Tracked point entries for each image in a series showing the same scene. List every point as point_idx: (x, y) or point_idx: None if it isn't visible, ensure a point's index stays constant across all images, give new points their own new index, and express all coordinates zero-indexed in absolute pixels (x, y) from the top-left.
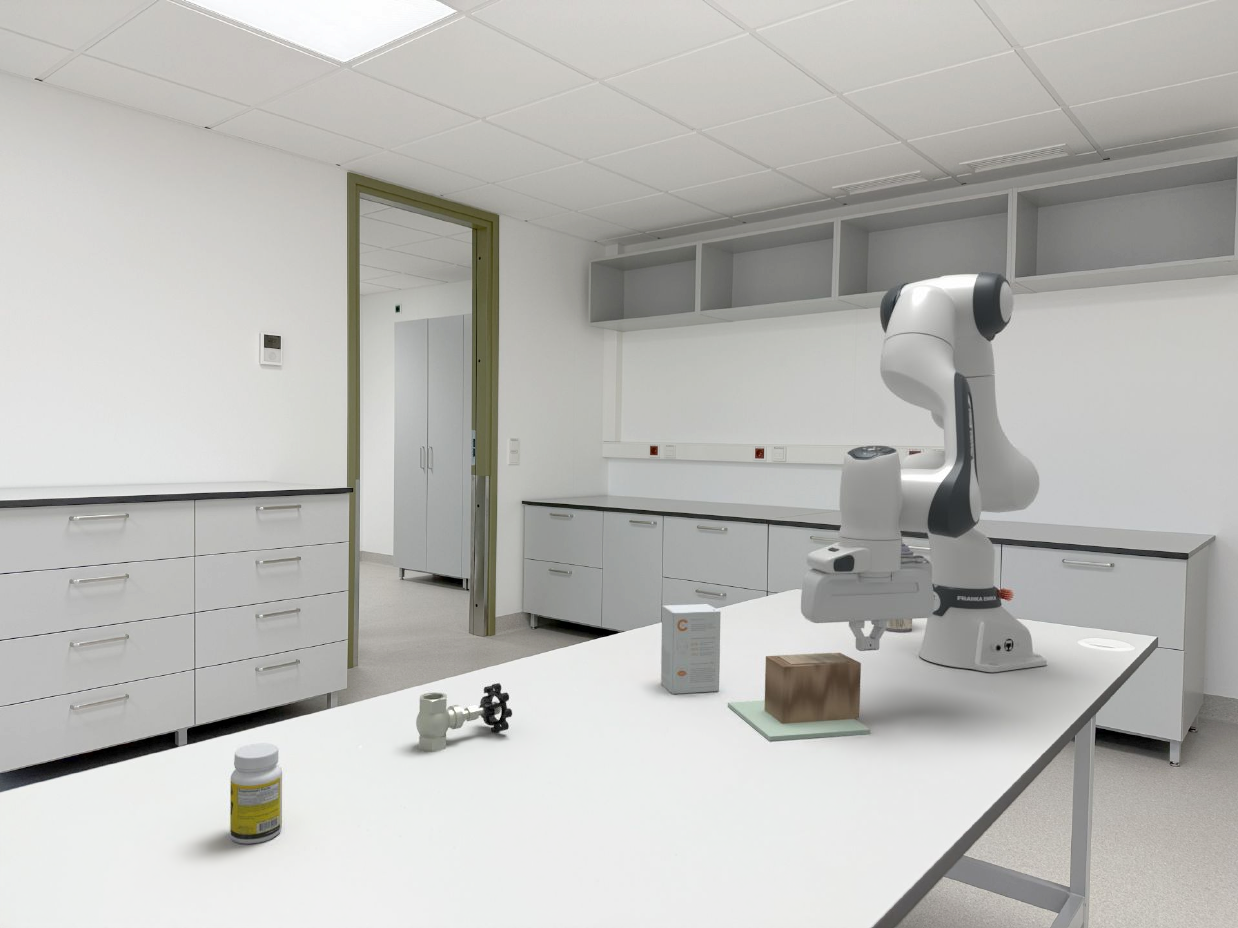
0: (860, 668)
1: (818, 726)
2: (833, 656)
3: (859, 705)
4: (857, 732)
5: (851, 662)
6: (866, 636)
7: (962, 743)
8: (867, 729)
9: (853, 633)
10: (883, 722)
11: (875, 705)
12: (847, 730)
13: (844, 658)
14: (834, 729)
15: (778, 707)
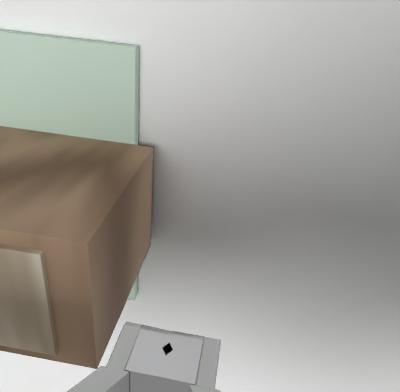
0: (103, 351)
1: None
2: (20, 295)
3: (141, 265)
4: None
5: (65, 354)
6: (170, 380)
7: (282, 379)
8: (128, 298)
9: (81, 384)
10: (213, 255)
11: (294, 144)
12: None
13: (63, 312)
14: None
15: None
